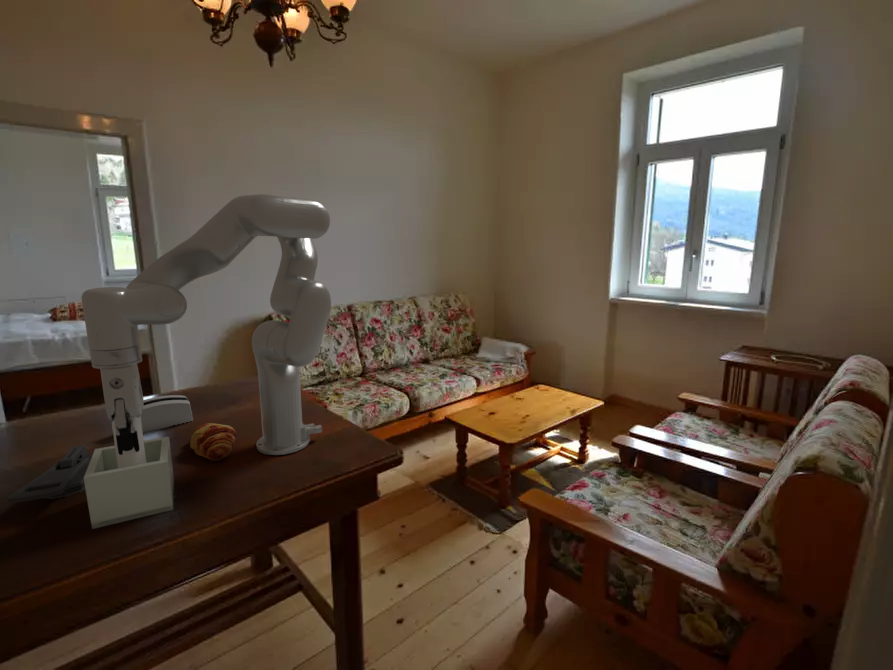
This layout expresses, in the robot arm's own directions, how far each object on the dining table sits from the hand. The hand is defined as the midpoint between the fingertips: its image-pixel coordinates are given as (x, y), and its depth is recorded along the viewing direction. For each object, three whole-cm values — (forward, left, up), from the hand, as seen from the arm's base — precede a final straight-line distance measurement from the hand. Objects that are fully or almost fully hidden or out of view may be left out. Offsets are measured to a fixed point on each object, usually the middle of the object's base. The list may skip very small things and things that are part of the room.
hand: (130, 447), depth 87 cm
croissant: (-15, -19, -12) cm, 27 cm away
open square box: (0, 0, -12) cm, 12 cm away
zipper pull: (+13, -11, -12) cm, 21 cm away
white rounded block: (-2, -39, -12) cm, 41 cm away
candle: (0, +1, -10) cm, 10 cm away
